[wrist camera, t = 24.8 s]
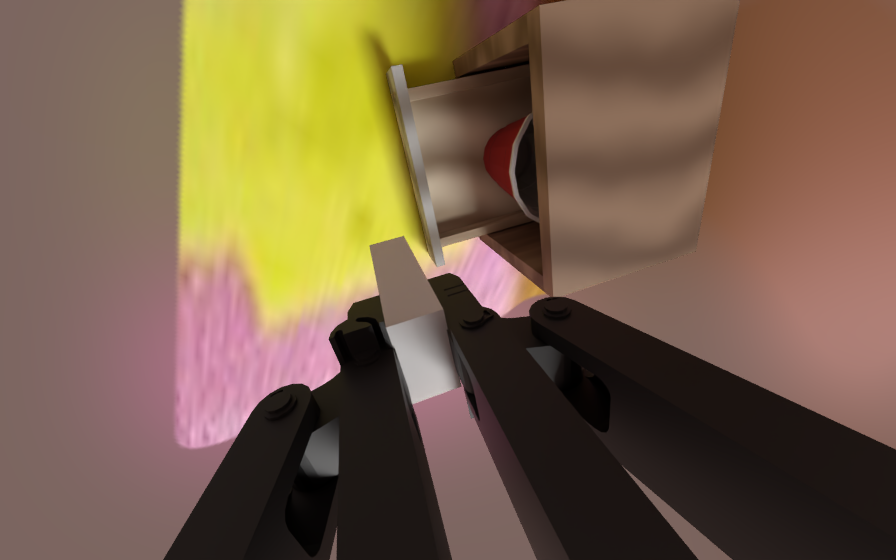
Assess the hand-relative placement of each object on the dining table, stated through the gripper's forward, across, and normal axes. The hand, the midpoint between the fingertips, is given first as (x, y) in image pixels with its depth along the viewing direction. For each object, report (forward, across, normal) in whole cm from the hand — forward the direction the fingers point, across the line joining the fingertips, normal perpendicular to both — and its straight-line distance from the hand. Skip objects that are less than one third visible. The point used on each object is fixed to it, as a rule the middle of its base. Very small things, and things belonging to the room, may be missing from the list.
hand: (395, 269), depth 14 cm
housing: (+24, +19, 0) cm, 31 cm away
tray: (+24, +15, 0) cm, 28 cm away
